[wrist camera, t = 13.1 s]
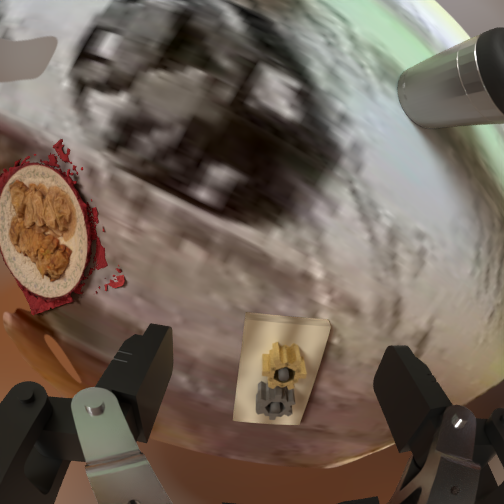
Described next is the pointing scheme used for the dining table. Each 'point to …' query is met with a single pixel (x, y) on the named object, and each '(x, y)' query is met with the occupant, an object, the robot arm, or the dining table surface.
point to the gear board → (256, 386)
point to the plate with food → (47, 232)
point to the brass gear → (283, 365)
